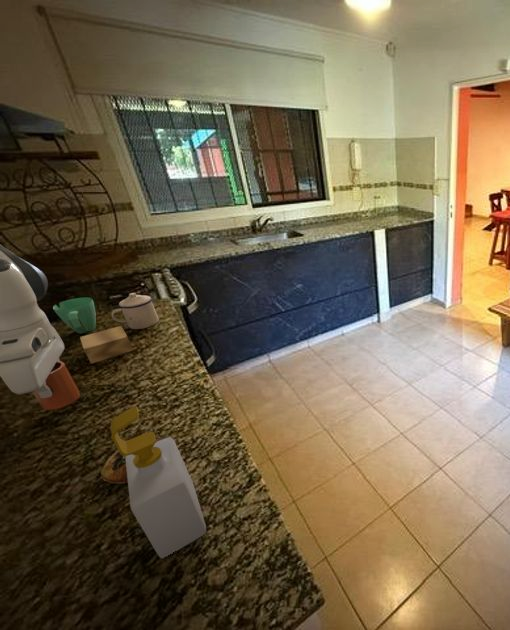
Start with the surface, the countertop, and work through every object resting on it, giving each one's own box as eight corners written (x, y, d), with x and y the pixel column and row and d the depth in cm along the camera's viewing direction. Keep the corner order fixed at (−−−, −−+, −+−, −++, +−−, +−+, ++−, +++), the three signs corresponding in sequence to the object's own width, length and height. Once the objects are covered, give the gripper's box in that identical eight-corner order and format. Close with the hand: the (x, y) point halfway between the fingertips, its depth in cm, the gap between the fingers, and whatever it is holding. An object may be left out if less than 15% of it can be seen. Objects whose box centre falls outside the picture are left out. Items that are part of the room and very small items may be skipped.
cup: (37, 413, 77) (17, 381, 73) (47, 397, 82) (28, 366, 78) (76, 403, 80) (59, 372, 76) (83, 388, 85) (67, 358, 81)
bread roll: (172, 468, 67) (159, 451, 65) (103, 501, 63) (86, 483, 60) (174, 433, 76) (162, 417, 73) (113, 460, 71) (99, 443, 69)
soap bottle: (208, 533, 56) (160, 427, 46) (160, 562, 52) (95, 453, 42) (193, 483, 64) (150, 384, 54) (150, 505, 61) (94, 402, 50)
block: (91, 363, 100) (83, 349, 97) (86, 351, 106) (79, 337, 103) (133, 350, 106) (127, 336, 104) (127, 339, 112) (121, 325, 110)
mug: (67, 328, 118) (54, 302, 114) (104, 320, 124) (92, 295, 119) (64, 346, 108) (49, 317, 104) (104, 336, 114) (91, 309, 109)
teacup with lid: (158, 315, 127) (147, 286, 122) (161, 324, 121) (149, 294, 116) (117, 325, 121) (104, 294, 115) (117, 335, 114) (103, 303, 109)
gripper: (21, 318, 80) (48, 367, 86) (-20, 361, 64) (17, 417, 70) (57, 312, 83) (82, 360, 89) (27, 352, 67) (59, 407, 73)
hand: (53, 386), depth 79 cm, fingers closed on cup, 6 cm apart
